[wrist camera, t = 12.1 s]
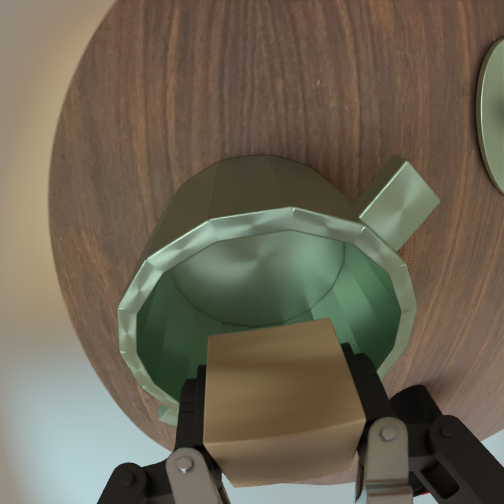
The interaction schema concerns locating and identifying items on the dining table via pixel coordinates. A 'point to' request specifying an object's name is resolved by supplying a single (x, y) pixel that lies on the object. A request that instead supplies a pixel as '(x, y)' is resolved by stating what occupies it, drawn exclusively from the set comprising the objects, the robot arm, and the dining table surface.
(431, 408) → the cup
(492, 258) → the dining table surface
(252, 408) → the block
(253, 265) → the pot
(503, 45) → the pot lid
